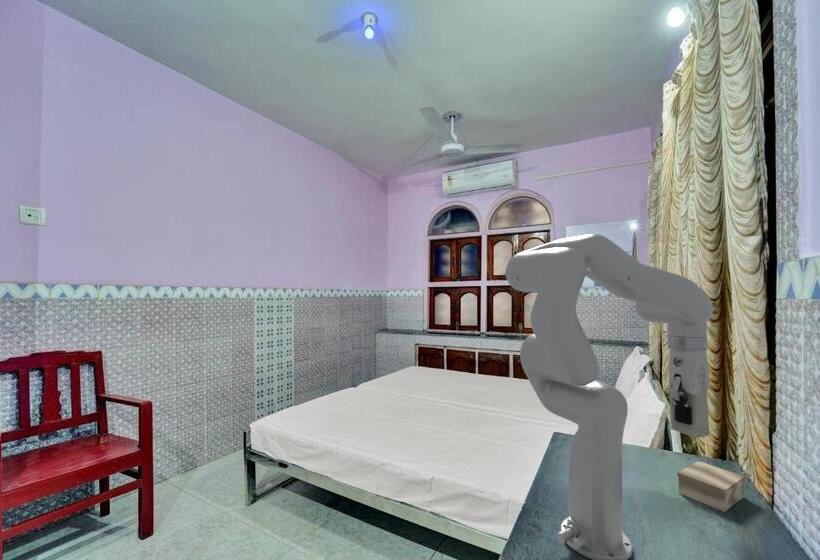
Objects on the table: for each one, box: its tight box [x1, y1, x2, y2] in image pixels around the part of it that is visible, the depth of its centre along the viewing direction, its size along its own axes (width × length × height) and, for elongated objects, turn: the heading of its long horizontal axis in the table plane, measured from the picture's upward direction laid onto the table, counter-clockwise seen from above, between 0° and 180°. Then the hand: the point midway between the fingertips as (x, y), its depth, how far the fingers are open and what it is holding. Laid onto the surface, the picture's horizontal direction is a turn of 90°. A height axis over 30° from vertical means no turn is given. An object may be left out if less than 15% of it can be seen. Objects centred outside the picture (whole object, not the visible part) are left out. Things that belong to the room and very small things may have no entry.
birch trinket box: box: [676, 460, 746, 513], centre depth 90 cm, size 12×9×5 cm
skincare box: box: [668, 383, 710, 439], centre depth 86 cm, size 6×4×12 cm
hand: (688, 419), depth 86 cm, fingers closed on skincare box, 5 cm apart
